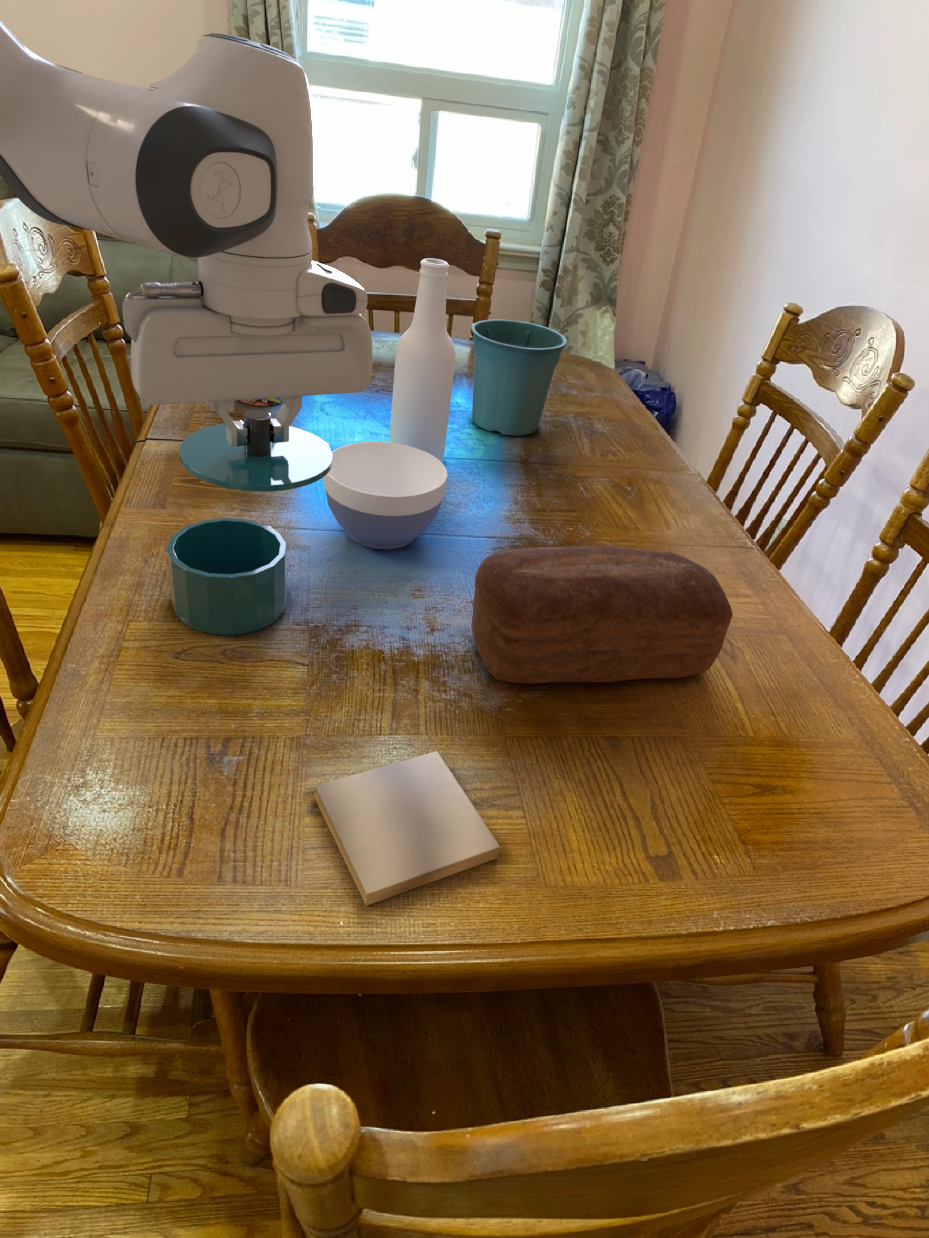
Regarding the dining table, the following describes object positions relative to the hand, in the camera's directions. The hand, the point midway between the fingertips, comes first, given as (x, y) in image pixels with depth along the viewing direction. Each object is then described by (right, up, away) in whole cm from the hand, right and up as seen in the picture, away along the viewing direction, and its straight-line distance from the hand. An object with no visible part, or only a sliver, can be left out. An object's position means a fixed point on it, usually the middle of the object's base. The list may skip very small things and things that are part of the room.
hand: (258, 442), depth 74 cm
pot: (-8, -14, +20) cm, 25 cm away
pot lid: (0, -1, +1) cm, 2 cm away
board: (+14, -34, -4) cm, 37 cm away
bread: (+33, -20, +20) cm, 43 cm away
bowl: (+7, -4, +37) cm, 38 cm away
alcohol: (+11, +9, +56) cm, 58 cm away
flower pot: (+26, +19, +74) cm, 81 cm away
